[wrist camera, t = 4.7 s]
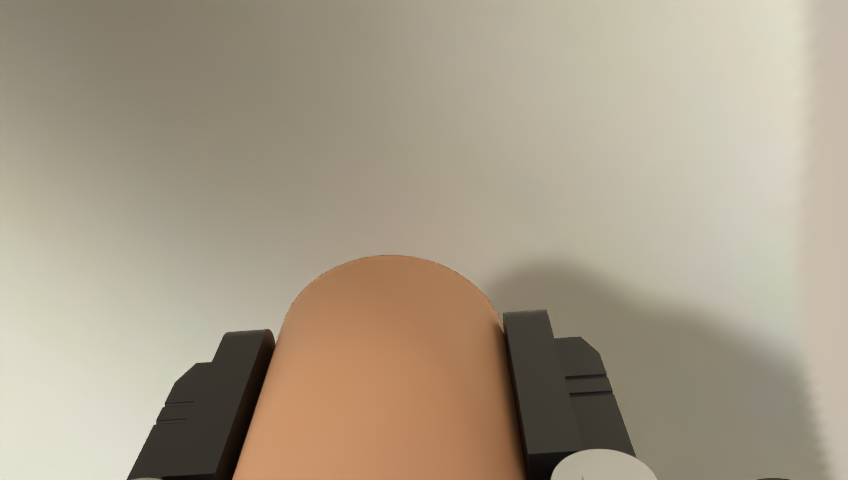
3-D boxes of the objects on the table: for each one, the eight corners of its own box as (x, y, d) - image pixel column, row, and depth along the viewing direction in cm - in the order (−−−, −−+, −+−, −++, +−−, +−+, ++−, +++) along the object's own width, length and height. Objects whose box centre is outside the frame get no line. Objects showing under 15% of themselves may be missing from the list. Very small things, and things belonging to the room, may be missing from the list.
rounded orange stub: (259, 264, 13) (135, 555, 7) (502, 246, 13) (558, 529, 7) (298, 453, 14) (218, 803, 9) (511, 439, 14) (562, 786, 9)
